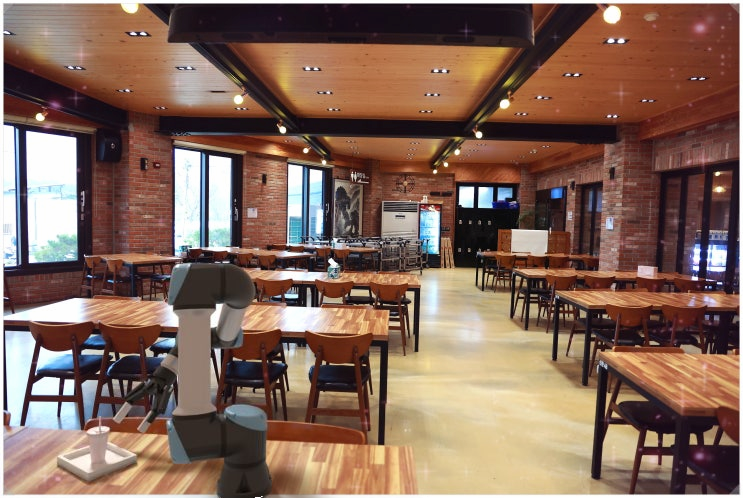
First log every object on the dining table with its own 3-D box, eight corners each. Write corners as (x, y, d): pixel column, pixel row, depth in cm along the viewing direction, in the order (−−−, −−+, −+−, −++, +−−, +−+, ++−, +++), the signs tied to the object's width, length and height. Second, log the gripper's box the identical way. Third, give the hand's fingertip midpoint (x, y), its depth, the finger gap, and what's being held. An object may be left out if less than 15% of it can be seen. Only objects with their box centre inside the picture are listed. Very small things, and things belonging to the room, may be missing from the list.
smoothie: (99, 466, 155) (100, 421, 154) (81, 464, 156) (81, 418, 155) (114, 457, 161) (114, 413, 161) (96, 455, 162) (96, 411, 162)
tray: (136, 462, 160) (136, 454, 160) (88, 481, 148) (88, 473, 147) (105, 447, 170) (105, 440, 170) (57, 463, 157) (57, 456, 157)
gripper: (198, 383, 174) (158, 441, 162) (153, 370, 188) (113, 422, 176) (185, 371, 170) (143, 430, 158) (140, 358, 183) (98, 412, 171)
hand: (127, 426), depth 167 cm, fingers open, 13 cm apart
